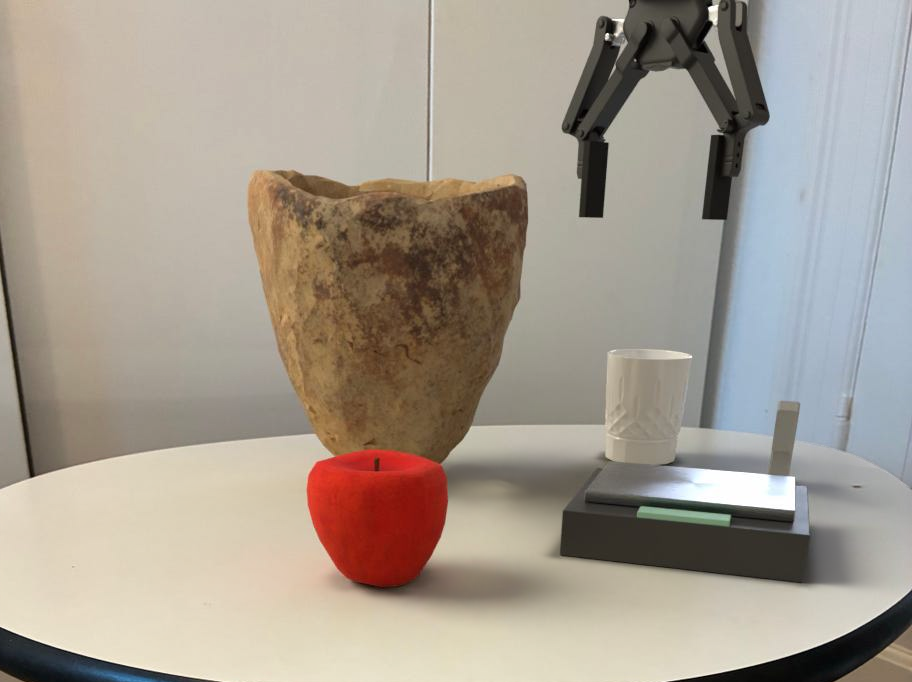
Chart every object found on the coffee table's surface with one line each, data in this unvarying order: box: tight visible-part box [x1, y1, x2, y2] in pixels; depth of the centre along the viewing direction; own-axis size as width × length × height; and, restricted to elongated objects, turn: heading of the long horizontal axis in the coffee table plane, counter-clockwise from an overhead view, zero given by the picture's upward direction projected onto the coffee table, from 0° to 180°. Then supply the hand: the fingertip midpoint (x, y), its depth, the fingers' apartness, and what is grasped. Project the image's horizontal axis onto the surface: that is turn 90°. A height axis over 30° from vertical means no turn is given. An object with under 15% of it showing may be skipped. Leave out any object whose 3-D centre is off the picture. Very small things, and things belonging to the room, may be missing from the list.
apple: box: [306, 449, 449, 588], centre depth 64 cm, size 9×9×8 cm
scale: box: [559, 467, 811, 583], centre depth 74 cm, size 16×14×4 cm
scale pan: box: [584, 460, 796, 522], centre depth 74 cm, size 14×10×1 cm
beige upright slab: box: [767, 400, 801, 477], centre depth 88 cm, size 7×2×8 cm, turn 161°
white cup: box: [604, 348, 693, 466], centre depth 99 cm, size 8×8×10 cm
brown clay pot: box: [247, 169, 529, 465], centre depth 86 cm, size 22×22×25 cm
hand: (649, 219), depth 93 cm, fingers open, 13 cm apart
